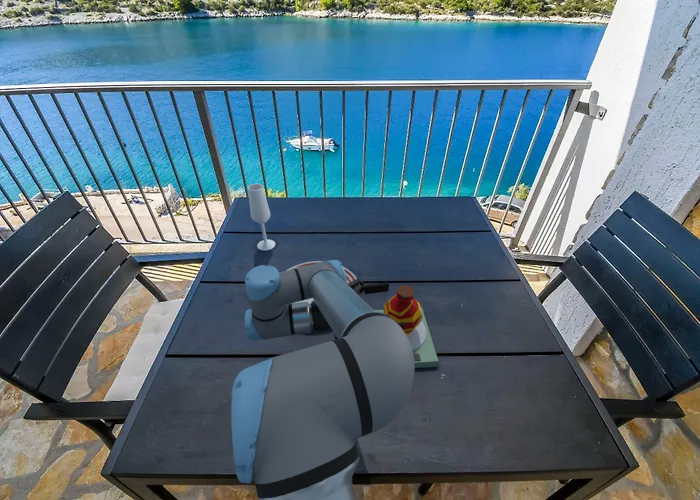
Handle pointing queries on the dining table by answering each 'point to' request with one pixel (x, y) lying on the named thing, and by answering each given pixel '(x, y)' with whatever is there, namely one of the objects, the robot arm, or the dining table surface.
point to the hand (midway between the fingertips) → (395, 305)
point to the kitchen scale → (422, 345)
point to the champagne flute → (260, 213)
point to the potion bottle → (404, 309)
